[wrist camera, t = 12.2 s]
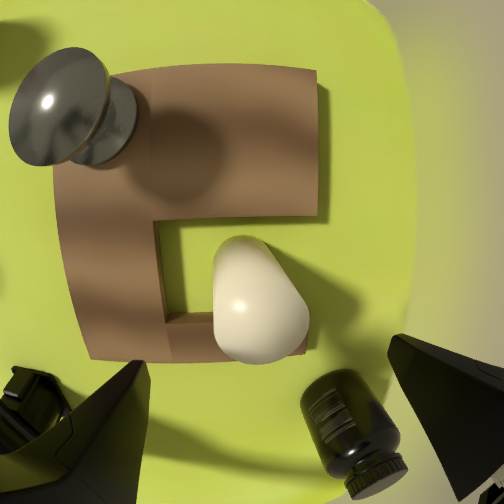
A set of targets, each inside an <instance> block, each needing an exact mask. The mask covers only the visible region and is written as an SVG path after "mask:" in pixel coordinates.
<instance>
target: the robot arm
mask: <svg viewBox="0 0 504 504" xmlns="http://www.w3.org/2000/svg"><path fill="white" fill-rule="evenodd" d="M387 356H388V359H389V361H390V364H391V366H392V368H393V370H394V373H395V375H396V377H397V379H398V382H399V384H400V386H401V388H402V390H403V392H404V393H405V395H406V397H407V399H408V401H409V403H410V404H411V406H412V408H413V410H414V412H415V413H416V415H417V417H418V419H419V421H420V423H421V425H422V427H423V428H424V430H425V432H426V434H427V436H428V438H429V440H430V442H431V444H432V446H433V448H434V450H435V452H436V454H437V456H438V458H439V460H440V462H441V464H442V467H443V469H444V471H445V473H446V476H447V478H448V480H449V482H450V484H451V486H452V489H453V491H454V493H455V496H456V498H457V500H458V502H460V501H461V500H463V499H464V498H465V497H467V496H468V495H469V494H470V493H472V492H473V491H474V490H476V489H477V488H478V487H479V486H480V485H481V484H483V483H484V482H485V481H486V480H487V479H488V478H489V477H491V478H492V480H493V481H494V483H493V484H492V485H491V486H490V487H489V488H487V489H486V490H485V491H484V492H483V493H482V494H481V495H480V498H479V502H478V504H504V368H501V367H497V366H493V365H490V364H487V363H483V362H481V361H478V360H475V359H474V360H473V359H472V358H469V357H466V356H463V355H461V354H458V353H455V352H452V351H449V350H446V349H444V348H441V347H438V346H435V345H432V344H430V343H427V342H424V341H422V340H419V339H416V338H414V337H411V336H408V335H405V334H402V333H401V334H397V335H394V336H393V337H392V339H391V342H390V346H389V349H388V352H387ZM11 370H12V372H13V374H14V375H13V377H12V378H11V379H10V381H9V382H8V384H7V385H6V387H5V388H4V390H3V393H4V395H3V396H2V398H1V399H0V504H136V499H137V491H138V483H139V475H140V468H141V461H142V455H143V448H144V442H145V436H146V431H147V425H148V416H149V399H150V386H151V380H150V376H149V372H148V369H147V365H146V363H145V361H144V360H132V361H131V362H129V363H128V364H127V365H126V366H125V367H123V368H122V369H121V370H120V371H119V372H118V373H116V374H115V375H114V376H113V377H112V378H111V379H109V380H108V381H107V382H106V383H105V384H103V385H102V386H101V387H100V388H99V389H98V390H96V391H95V392H94V393H93V394H92V395H90V396H89V397H88V398H87V399H86V400H85V401H83V402H82V403H81V404H80V405H79V406H77V407H76V408H75V409H74V410H73V411H72V410H71V409H70V407H69V405H68V403H67V402H66V400H65V398H64V396H63V395H62V393H61V391H60V389H59V387H58V385H57V383H56V381H55V379H54V378H53V376H52V375H50V374H48V373H43V372H38V371H34V370H29V369H25V368H21V367H17V366H13V367H12V368H11ZM62 416H64V418H63V419H62V420H61V421H60V419H61V417H62Z"/></svg>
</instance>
